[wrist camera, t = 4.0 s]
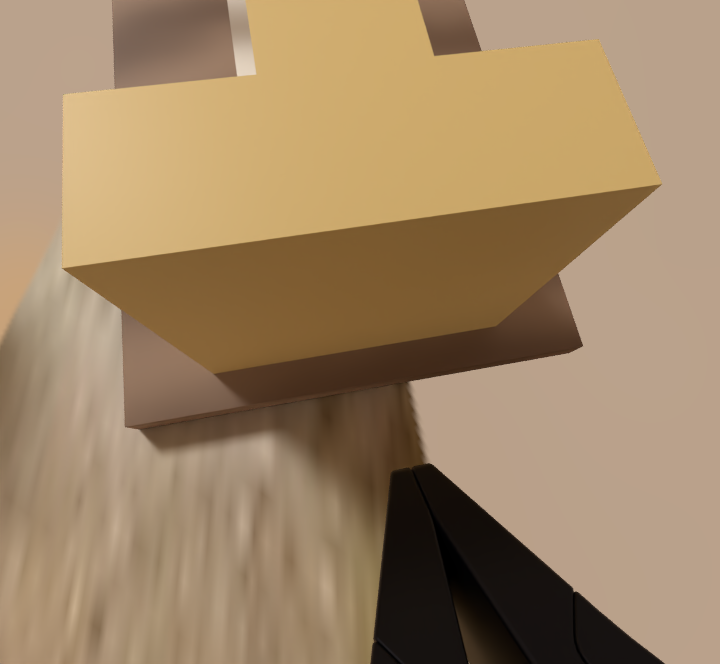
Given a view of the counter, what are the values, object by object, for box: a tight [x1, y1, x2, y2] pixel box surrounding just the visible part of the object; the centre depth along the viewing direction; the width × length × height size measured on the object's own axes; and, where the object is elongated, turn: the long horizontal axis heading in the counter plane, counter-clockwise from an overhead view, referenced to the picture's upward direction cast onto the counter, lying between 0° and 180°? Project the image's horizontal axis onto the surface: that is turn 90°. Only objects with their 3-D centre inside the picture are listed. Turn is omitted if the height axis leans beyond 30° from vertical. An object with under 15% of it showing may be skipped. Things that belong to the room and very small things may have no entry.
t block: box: [62, 0, 662, 374], centre depth 15 cm, size 12×12×10 cm
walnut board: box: [112, 0, 583, 429], centre depth 22 cm, size 25×19×1 cm
